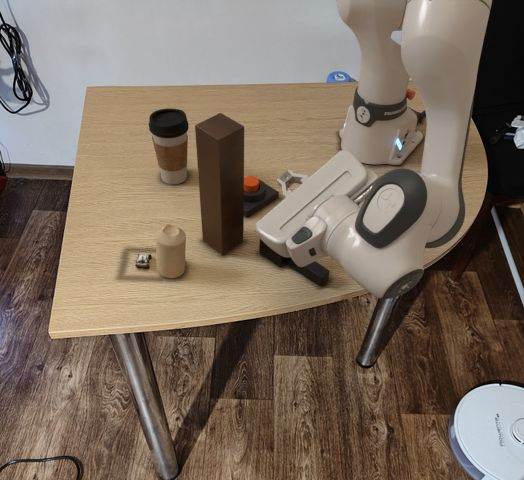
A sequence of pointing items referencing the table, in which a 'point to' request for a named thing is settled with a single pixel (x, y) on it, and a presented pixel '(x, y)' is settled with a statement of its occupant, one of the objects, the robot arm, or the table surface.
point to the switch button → (251, 184)
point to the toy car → (143, 260)
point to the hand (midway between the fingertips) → (283, 176)
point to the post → (221, 181)
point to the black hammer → (310, 271)
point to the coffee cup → (170, 143)
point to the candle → (170, 251)
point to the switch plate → (259, 198)
